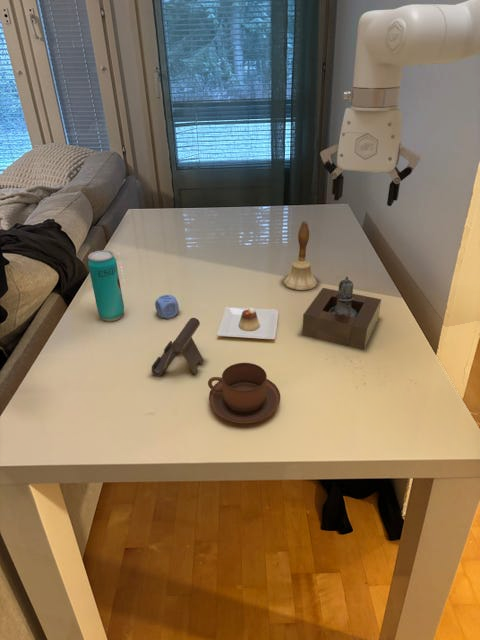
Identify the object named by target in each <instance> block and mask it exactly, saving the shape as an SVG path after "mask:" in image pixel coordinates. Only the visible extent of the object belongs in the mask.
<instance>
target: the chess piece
mask: <svg viewBox="0 0 480 640" xmlns="http://www.w3.org/2000/svg"><path fill="white" fill-rule="evenodd" d="M337 291H338V294H337V295H336V298H337V304H336V306H335V307H332V308H331V309H330V310H329V313H334V314H339V315H343V316H348V317H353V318H356V317H357V312H356V311H355V310H354V309H353V308H351V304H352V300H353V299H354V296H353V295H352V294H353V291H354V283H353V281H352V280H350V279H349V277H348V276H346V277H345V278H344V279H342V280H341V281H340V282H339V283H338V289H337Z"/></svg>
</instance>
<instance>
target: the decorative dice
mask: <svg viewBox="0 0 480 640" xmlns="http://www.w3.org/2000/svg"><path fill="white" fill-rule="evenodd" d="M154 306H155V310H156V313H157V315H158V316H159V317H160V318H162V319H164V320H165V319H173V318H174V317H176V316H177V314H178V313H179V310H180V307H179V303H178V300H177V298H176V297H175V296H174V295H172V294H163V295H160V296H159V297H157V298H156V299H155V302H154Z"/></svg>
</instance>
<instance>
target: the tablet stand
mask: <svg viewBox="0 0 480 640" xmlns="http://www.w3.org/2000/svg"><path fill="white" fill-rule="evenodd" d="M200 325H201V323H200V320H199V319H198V318H197V317H191V318H190V319H189V320H188V321H187V322H186V324H185V325H184V327H183V328H182V329H181V331H180V332H179V333H178V335H177V337H176V338H175V339H174V340H173V341H172V340H170V341H169V342H168V343H167V344H166V346H165V347H164V349H163V353H162V355H161V356H158V357H157V358H156V359H155V361H154V362H153V364H151V373H152V374H153V376H156V377H160V376H161V375H162V374H163V373H164V372H165V370H166V368H167V366H168V365H169V364H170V362H171V361H172V359H173V358H174V356H175V355H176V354H177V353H181V354H182V355H183V357H184V359H185V361H186V363H187V365H188V367H189V368H190V370H191V373H192V374H193V375H194V376H195V375H197V374H198V372H199V369H198V368H197V364H198V363H199V364H200V366H202V365H203V364H204V361H205V359H204V357H203V356H202V354H201V352H200V350H199V348H198V347H197V344H196V343H195V340H194V338H193V336H194V334H195V333H196V331H197V329H199V327H200Z"/></svg>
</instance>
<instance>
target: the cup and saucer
mask: <svg viewBox="0 0 480 640" xmlns="http://www.w3.org/2000/svg"><path fill="white" fill-rule="evenodd" d="M267 377H268V376H267V372H266V371H265V369H264V368H263V367H262V366H260V365H258V364H256V363H252V362H237V363H234V364H231V365H229V366H227V367H226V368H225V369H224V370H223V372H222V374H221V377H220V376H212V377H210V378H209V379H208V381H207V384H208V387H209V389H210V391H209V395H208V402H209V405H210V407H211V410H212V411H213V412H214V413H215V414H216V415H217V416H219V417H220V418H222V419H224V420H226V421H228V422H233V423H237V424H252V423H256V422H260V421H262V420H266V419H267V418H269V417H270V416H271V415H273V414H274V413H275V412H276V411H277V409H278V408H279V406H280V403H281V392H280V390H279V388H278V387H277V385H276V384H275V383H274V382H272V381H271V380H270V379H268V378H267ZM215 381H216V383H215V384H214V385H213V382H215Z"/></svg>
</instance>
